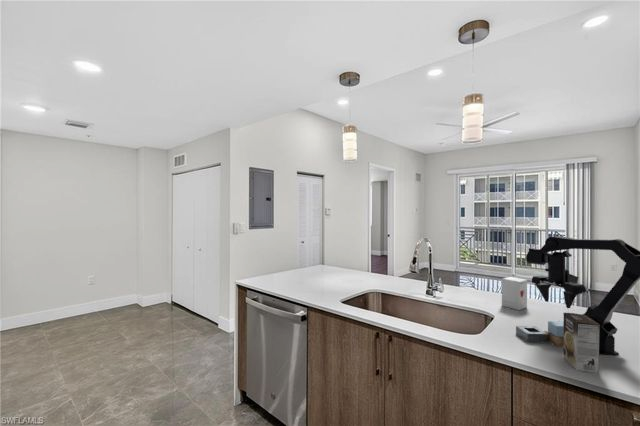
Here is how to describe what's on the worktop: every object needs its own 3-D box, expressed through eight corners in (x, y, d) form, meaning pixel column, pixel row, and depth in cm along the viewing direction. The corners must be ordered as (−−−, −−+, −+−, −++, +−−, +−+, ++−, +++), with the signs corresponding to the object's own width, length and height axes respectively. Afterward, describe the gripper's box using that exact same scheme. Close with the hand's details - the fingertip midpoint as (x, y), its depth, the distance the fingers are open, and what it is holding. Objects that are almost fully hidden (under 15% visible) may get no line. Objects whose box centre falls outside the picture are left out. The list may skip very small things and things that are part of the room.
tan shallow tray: (575, 347, 115) (575, 338, 115) (556, 346, 116) (556, 338, 115) (562, 339, 122) (562, 331, 122) (544, 338, 123) (544, 330, 122)
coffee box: (562, 357, 107) (562, 312, 107) (584, 359, 106) (584, 313, 105) (575, 370, 99) (576, 321, 98) (599, 373, 97) (600, 323, 97)
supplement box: (519, 310, 156) (519, 281, 156) (501, 306, 163) (501, 278, 163) (527, 307, 161) (527, 279, 161) (509, 303, 168) (509, 276, 168)
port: (548, 342, 119) (548, 334, 119) (527, 342, 120) (527, 333, 120) (535, 334, 127) (535, 326, 127) (516, 333, 128) (516, 325, 128)
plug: (571, 345, 116) (571, 326, 116) (556, 345, 116) (556, 326, 116) (562, 340, 121) (562, 321, 121) (547, 339, 121) (548, 321, 121)
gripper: (597, 269, 117) (597, 310, 117) (551, 262, 135) (552, 297, 135) (573, 271, 115) (574, 312, 115) (530, 263, 133) (531, 299, 133)
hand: (557, 304), depth 124 cm, fingers open, 9 cm apart
